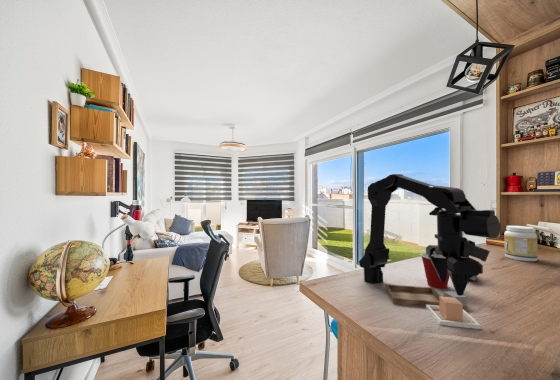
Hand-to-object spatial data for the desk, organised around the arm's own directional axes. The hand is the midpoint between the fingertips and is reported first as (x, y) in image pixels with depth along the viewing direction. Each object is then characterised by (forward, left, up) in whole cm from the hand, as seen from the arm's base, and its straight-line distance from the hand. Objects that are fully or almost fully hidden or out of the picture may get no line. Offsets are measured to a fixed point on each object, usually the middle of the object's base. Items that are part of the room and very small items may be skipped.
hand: (451, 288), depth 64 cm
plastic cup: (+6, +24, -9) cm, 26 cm away
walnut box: (-6, +11, -9) cm, 16 cm away
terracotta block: (0, 0, -8) cm, 8 cm away
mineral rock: (+21, +39, -9) cm, 45 cm away
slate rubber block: (+5, +9, -9) cm, 14 cm away
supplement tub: (+65, +75, -9) cm, 100 cm away
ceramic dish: (0, 0, -9) cm, 9 cm away
